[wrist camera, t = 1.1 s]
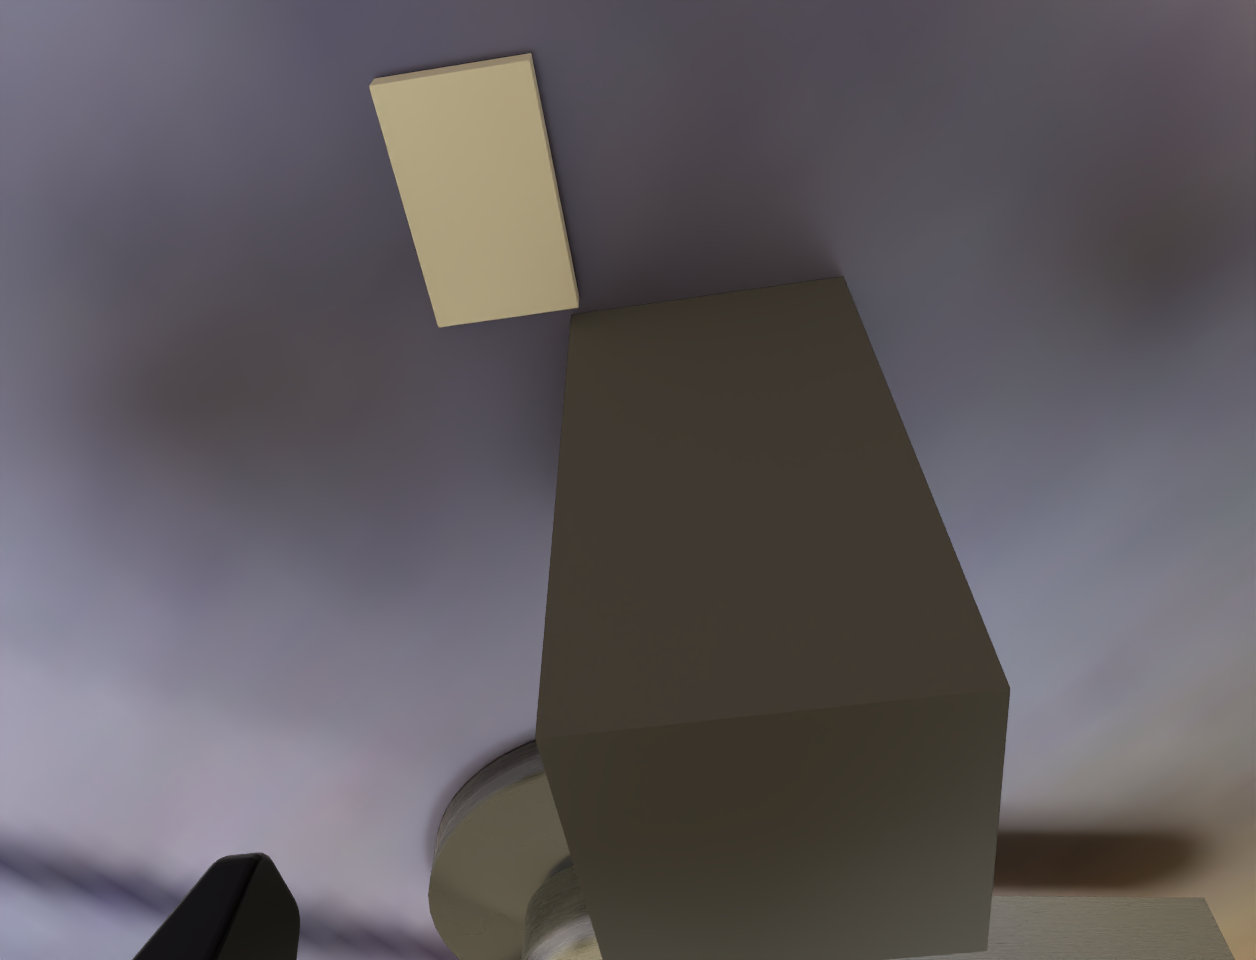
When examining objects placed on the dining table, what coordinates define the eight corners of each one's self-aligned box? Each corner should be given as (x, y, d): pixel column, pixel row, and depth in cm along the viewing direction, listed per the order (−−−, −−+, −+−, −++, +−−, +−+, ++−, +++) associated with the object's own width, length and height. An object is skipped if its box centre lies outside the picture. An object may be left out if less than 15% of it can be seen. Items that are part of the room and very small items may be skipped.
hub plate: (855, 954, 22) (864, 1000, 22) (488, 986, 23) (483, 1031, 22) (843, 698, 18) (854, 745, 17) (384, 747, 18) (374, 794, 18)
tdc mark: (579, 297, 13) (578, 307, 13) (441, 316, 14) (438, 327, 13) (530, 52, 12) (529, 59, 11) (374, 78, 12) (369, 85, 12)
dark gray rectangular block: (850, 496, 15) (987, 952, 10) (613, 525, 16) (609, 983, 10) (842, 276, 13) (1011, 688, 8) (571, 314, 14) (534, 739, 8)
